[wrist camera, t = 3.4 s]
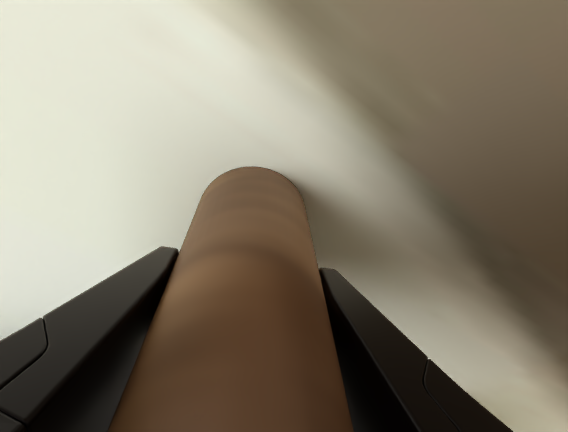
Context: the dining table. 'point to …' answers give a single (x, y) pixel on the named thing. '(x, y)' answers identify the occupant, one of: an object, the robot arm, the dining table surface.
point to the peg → (240, 323)
